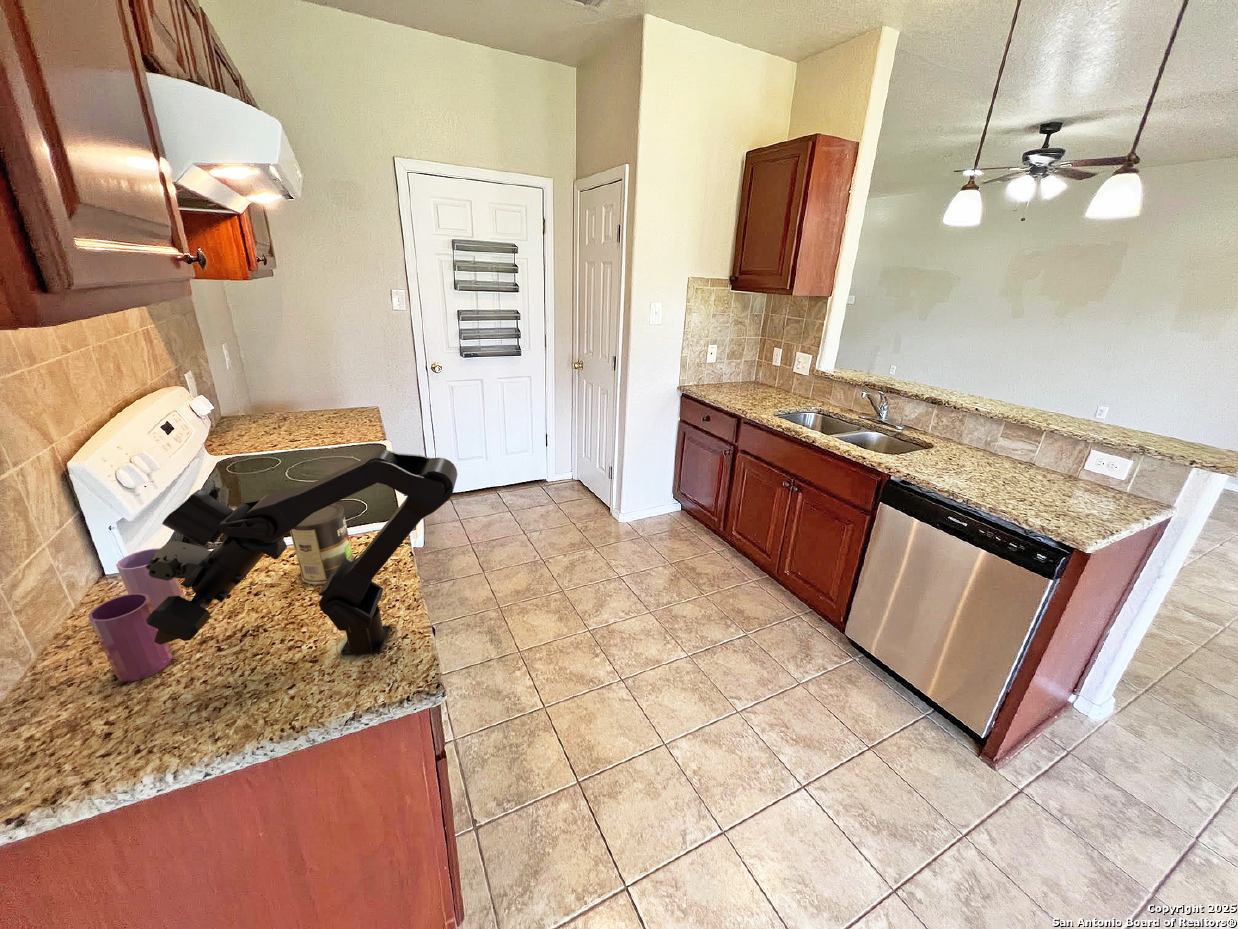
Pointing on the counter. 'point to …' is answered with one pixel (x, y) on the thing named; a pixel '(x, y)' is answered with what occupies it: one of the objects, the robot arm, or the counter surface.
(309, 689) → the counter surface
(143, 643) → the plum cup
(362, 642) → the robot arm
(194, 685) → the counter surface
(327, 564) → the coffee can
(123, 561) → the lavender cup
